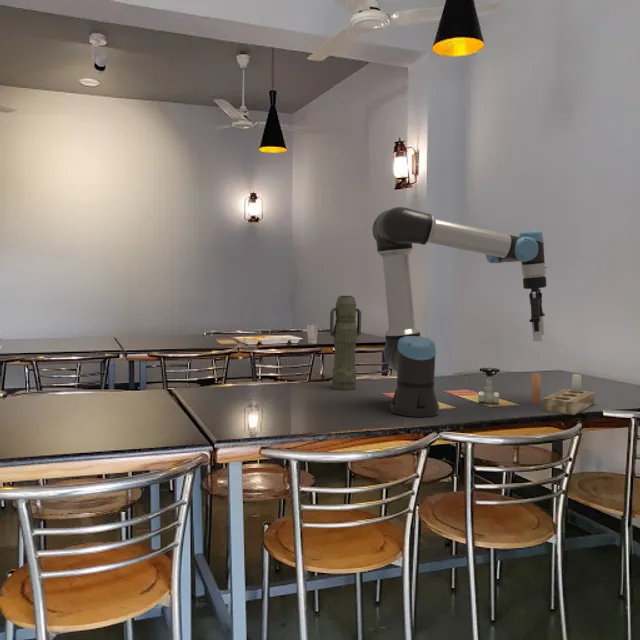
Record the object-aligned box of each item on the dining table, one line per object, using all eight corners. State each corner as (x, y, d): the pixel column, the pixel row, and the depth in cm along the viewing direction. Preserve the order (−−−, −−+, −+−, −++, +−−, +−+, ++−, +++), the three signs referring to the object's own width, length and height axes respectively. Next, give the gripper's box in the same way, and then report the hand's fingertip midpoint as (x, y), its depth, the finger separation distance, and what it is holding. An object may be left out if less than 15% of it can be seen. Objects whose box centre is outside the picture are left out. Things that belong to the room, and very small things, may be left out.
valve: (499, 406, 213) (500, 370, 212) (478, 405, 215) (480, 369, 214) (497, 402, 220) (499, 367, 219) (478, 401, 221) (479, 367, 220)
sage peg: (570, 403, 220) (571, 374, 219) (572, 402, 222) (573, 373, 221) (579, 404, 218) (580, 375, 217) (581, 403, 220) (582, 374, 220)
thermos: (363, 389, 239) (365, 296, 237) (334, 391, 235) (336, 296, 232) (353, 385, 247) (355, 295, 245) (325, 387, 243) (327, 295, 240)
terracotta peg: (529, 403, 219) (530, 374, 219) (532, 401, 222) (533, 373, 221) (538, 404, 217) (539, 375, 217) (541, 402, 220) (542, 374, 219)
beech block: (542, 410, 207) (542, 398, 207) (564, 399, 226) (564, 388, 226) (574, 414, 201) (574, 402, 201) (594, 403, 220) (594, 392, 220)
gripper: (543, 277, 204) (548, 343, 206) (547, 273, 227) (552, 332, 229) (519, 279, 207) (524, 344, 209) (525, 275, 230) (530, 333, 232)
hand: (538, 338), depth 219 cm, fingers open, 13 cm apart
